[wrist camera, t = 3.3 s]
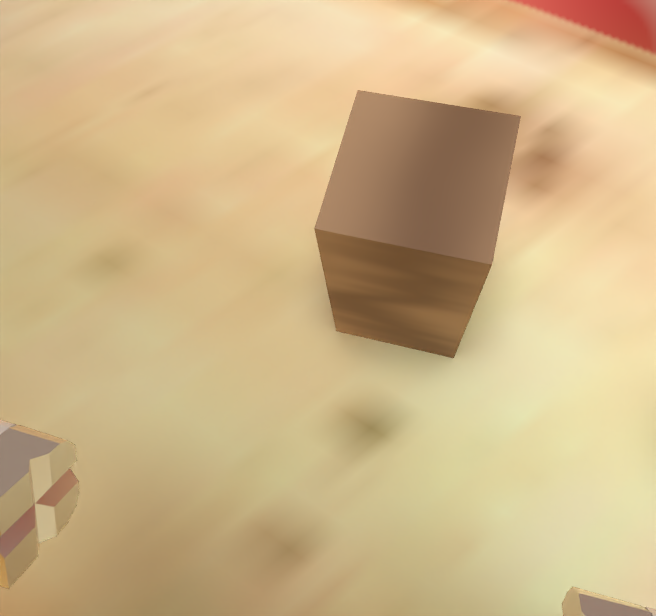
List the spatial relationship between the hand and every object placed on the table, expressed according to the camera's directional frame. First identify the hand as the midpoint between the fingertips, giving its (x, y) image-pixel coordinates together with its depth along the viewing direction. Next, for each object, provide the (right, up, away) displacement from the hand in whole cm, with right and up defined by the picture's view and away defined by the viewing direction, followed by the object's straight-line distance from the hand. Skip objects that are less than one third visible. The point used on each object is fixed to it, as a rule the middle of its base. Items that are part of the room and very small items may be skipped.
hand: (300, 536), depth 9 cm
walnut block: (+4, +4, +16) cm, 17 cm away
